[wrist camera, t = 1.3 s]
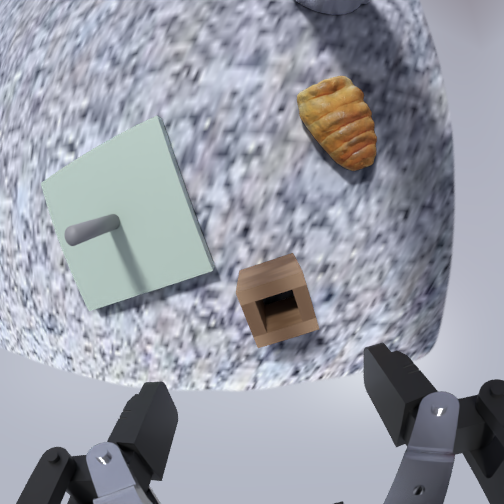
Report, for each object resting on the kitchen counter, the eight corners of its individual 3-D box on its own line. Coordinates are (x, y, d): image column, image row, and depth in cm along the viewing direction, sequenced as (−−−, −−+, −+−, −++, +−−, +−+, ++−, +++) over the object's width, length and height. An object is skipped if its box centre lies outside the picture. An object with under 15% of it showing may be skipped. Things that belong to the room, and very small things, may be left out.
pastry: (385, 156, 26) (401, 153, 22) (331, 182, 27) (342, 182, 23) (343, 76, 24) (354, 64, 21) (286, 99, 25) (291, 87, 21)
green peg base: (161, 118, 25) (124, 95, 17) (215, 266, 29) (198, 302, 20) (48, 182, 27) (-4, 187, 18) (94, 306, 30) (54, 342, 22)
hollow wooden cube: (292, 252, 28) (302, 271, 23) (307, 301, 30) (319, 328, 24) (239, 270, 29) (235, 292, 23) (257, 317, 30) (257, 348, 24)
